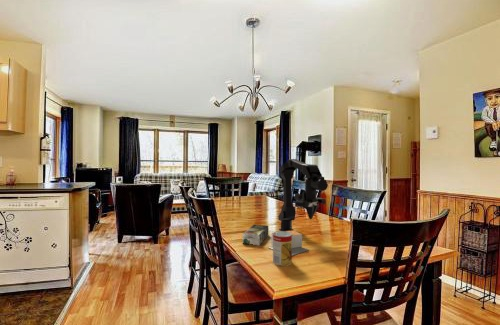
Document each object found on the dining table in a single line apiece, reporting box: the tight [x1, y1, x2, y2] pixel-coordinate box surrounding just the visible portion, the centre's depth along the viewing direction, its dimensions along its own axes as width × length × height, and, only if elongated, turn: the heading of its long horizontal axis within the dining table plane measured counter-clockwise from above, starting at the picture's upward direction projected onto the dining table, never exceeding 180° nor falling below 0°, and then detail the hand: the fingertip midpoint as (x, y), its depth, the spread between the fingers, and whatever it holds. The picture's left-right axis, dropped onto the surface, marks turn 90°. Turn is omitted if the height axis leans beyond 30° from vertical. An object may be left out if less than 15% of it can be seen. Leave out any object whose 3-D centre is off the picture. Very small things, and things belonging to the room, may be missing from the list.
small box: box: [270, 229, 303, 248], centre depth 130 cm, size 8×6×13 cm
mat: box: [268, 245, 310, 257], centre depth 126 cm, size 13×14×1 cm
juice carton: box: [242, 224, 269, 246], centre depth 142 cm, size 20×10×6 cm, turn 163°
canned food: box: [272, 230, 293, 267], centre depth 110 cm, size 8×8×12 cm
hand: (310, 218), depth 137 cm, fingers closed
